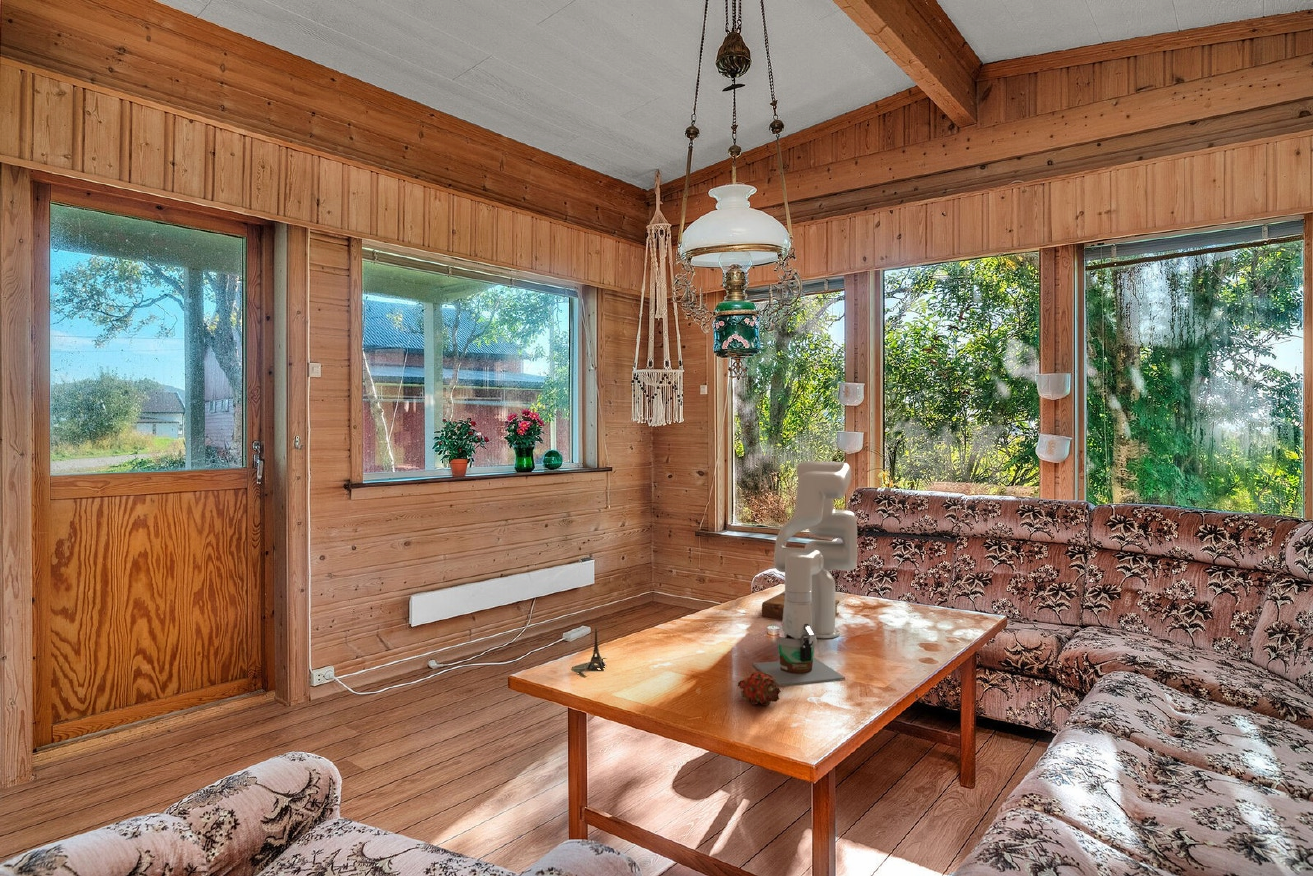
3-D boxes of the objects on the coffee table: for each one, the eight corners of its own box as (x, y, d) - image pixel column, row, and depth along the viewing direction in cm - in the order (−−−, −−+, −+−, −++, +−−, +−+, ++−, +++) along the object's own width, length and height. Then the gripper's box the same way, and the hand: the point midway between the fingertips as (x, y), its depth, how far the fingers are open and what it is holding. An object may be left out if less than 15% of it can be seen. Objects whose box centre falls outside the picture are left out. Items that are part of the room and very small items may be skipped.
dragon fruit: (781, 716, 183) (740, 711, 191) (791, 688, 189) (751, 684, 197) (767, 694, 180) (726, 690, 187) (778, 666, 186) (738, 663, 193)
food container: (785, 677, 205) (785, 641, 205) (775, 670, 211) (775, 635, 211) (824, 673, 208) (825, 638, 208) (814, 666, 214) (814, 632, 214)
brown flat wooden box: (761, 618, 271) (761, 602, 271) (781, 607, 287) (781, 592, 287) (821, 627, 259) (821, 610, 259) (839, 615, 274) (839, 600, 274)
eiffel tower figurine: (605, 659, 224) (605, 615, 224) (626, 667, 216) (626, 622, 216) (564, 670, 214) (564, 625, 214) (585, 679, 206) (585, 632, 206)
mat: (753, 665, 217) (753, 663, 217) (814, 659, 222) (814, 657, 222) (779, 686, 200) (779, 684, 200) (845, 679, 205) (845, 677, 205)
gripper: (773, 590, 218) (773, 647, 218) (800, 604, 201) (799, 666, 201) (796, 589, 220) (796, 645, 220) (824, 602, 203) (824, 664, 203)
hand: (797, 655), depth 211 cm, fingers open, 9 cm apart
